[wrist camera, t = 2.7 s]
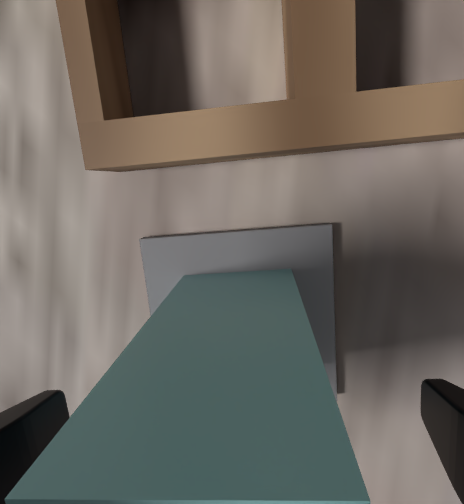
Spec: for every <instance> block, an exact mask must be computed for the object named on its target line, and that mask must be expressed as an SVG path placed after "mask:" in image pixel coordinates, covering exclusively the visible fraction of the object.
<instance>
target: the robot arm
mask: <svg viewBox="0 0 464 504" xmlns="http://www.w3.org/2000/svg"><path fill="white" fill-rule="evenodd" d="M421 416H422V419H423V422H424V424H425V427H426V429H427V431H428V433H429V435H430V438H431V440H432V442H433V444H434V446H435V449H436V451H437V453H438V455H439V457H440V460H441V462H442V464H443V466H444V468H445V471H446V473H447V475H448V477H449V479H450V481H451V483H452V486H453V488H454V490H455V491H456V493H457V495H458V497H459V499H460V501H461V502H462V504H464V389H462V388H460V387H458V386H456V385H454V384H452V383H450V382H448V381H446V380H443V379H425V380H423V381H422V385H421ZM68 419H69V412H68V408H67V403H66V399H65V395H64V393H63V391H61V390H47V391H44V392H42V393H40V394H38V395H36V396H33V397H31V398H29V399H27V400H25V401H23V402H21V403H19V404H17V405H15V406H13V407H11V408H9V409H7V410H5V411H3V412H1V413H0V504H6V503H5V498H6V497H7V495H8V494H9V493H10V492H11V490H12V489H13V488H14V487H15V485H16V484H17V483H18V482H19V480H20V479H21V478H22V477H23V475H24V474H25V473H26V472H27V470H28V469H29V468H30V467H31V465H32V464H33V463H34V462H35V460H36V459H37V458H38V457H39V455H40V454H41V453H42V452H43V450H44V449H45V448H46V447H47V445H48V444H49V443H50V442H51V440H52V439H53V438H54V437H55V435H56V434H57V433H58V432H59V430H60V429H61V428H62V427H63V425H64V424H65V423H66V422H67V420H68Z"/></svg>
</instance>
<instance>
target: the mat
mask: <svg viewBox="0 0 464 504" xmlns="http://www.w3.org/2000/svg"><path fill="white" fill-rule="evenodd" d="M139 241H140V247H141V254H142V261H143V268H144V274H145V281H146V288H147V294H148V301H149V308H150V315H151V316H152V314H153V313H154V312H155V311H156V309H157V308H158V307H159V306H160V304H161V303H162V302H163V301H164V299H165V298H166V297H167V296H168V294H169V293H170V292H171V291H172V289H173V288H174V287H175V286H176V284H177V283H178V282H179V281H180V279H181V278H182V277H183V276H184V275H200V274H215V273H231V272H246V271H262V270H278V269H291V270H292V273H293V276H294V279H295V282H296V285H297V287H298V290H299V293H300V296H301V299H302V302H303V305H304V308H305V311H306V314H307V317H308V320H309V323H310V326H311V329H312V332H313V334H314V337H315V340H316V343H317V346H318V349H319V352H320V355H321V358H322V361H323V364H324V367H325V370H326V373H327V376H328V378H329V381H330V384H331V387H332V390H333V393H334V396H335V399H336V401H337V382H336V346H335V311H334V275H333V239H332V224H330V223H324V224H311V225H298V226H285V227H272V228H259V229H246V230H233V231H220V232H207V233H194V234H181V235H168V236H155V237H143V238H141V239H139Z"/></svg>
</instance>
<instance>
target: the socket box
mask: <svg viewBox="0 0 464 504" xmlns="http://www.w3.org/2000/svg"><path fill="white" fill-rule="evenodd" d="M56 4H57V10H58V16H59V21H60V27H61V33H62V39H63V44H64V50H65V56H66V61H67V67H68V73H69V79H70V84H71V90H72V96H73V101H74V107H75V113H76V119H77V124H78V130H79V136H80V141H81V147H82V153H83V159H84V164H85V170H95V171H114V172H123V171H134V170H144V169H154V168H164V167H174V166H185V165H195V164H205V163H215V162H225V161H236V160H246V159H256V158H266V157H276V156H287V155H297V154H307V153H317V152H327V151H338V150H348V149H358V148H368V147H378V146H389V145H399V144H409V143H419V142H429V141H439V140H450V139H460V138H464V79H463V80H454V81H445V82H437V83H428V84H419V85H410V86H402V87H393V88H384V89H376V90H367V91H358V92H356V29H355V0H282V15H283V34H284V54H285V73H286V92H287V100H280V101H271V102H262V103H253V104H245V105H236V106H227V107H219V108H210V109H201V110H192V111H184V112H175V113H166V114H158V115H149V116H140V117H134V116H133V109H132V102H131V95H130V88H129V81H128V74H127V67H126V60H125V53H124V46H123V39H122V32H121V25H120V18H119V11H118V3H117V0H56Z"/></svg>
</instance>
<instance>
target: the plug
mask: <svg viewBox="0 0 464 504" xmlns="http://www.w3.org/2000/svg"><path fill="white" fill-rule="evenodd" d="M5 503H6V504H370V499H369V496H368V493H367V490H366V487H365V484H364V481H363V478H362V475H361V472H360V469H359V467H358V464H357V461H356V458H355V455H354V452H353V449H352V446H351V443H350V440H349V437H348V434H347V431H346V428H345V425H344V422H343V420H342V417H341V414H340V411H339V408H338V405H337V402H336V399H335V396H334V393H333V390H332V387H331V384H330V381H329V378H328V376H327V373H326V370H325V367H324V364H323V361H322V358H321V355H320V352H319V349H318V346H317V343H316V340H315V337H314V334H313V332H312V329H311V326H310V323H309V320H308V317H307V314H306V311H305V308H304V305H303V302H302V299H301V296H300V293H299V290H298V287H297V285H296V282H295V279H294V276H293V273H292V270H291V269H278V270H262V271H246V272H231V273H215V274H200V275H184V276H183V277H182V278H181V279H180V281H179V282H178V283H177V284H176V286H175V287H174V288H173V289H172V291H171V292H170V293H169V294H168V296H167V297H166V298H165V299H164V301H163V302H162V303H161V304H160V306H159V307H158V308H157V309H156V311H155V312H154V313H153V314H152V316H151V317H150V318H149V319H148V321H147V322H146V323H145V324H144V326H143V327H142V328H141V329H140V331H139V332H138V333H137V334H136V336H135V337H134V338H133V339H132V341H131V342H130V343H129V344H128V346H127V347H126V348H125V349H124V351H123V352H122V353H121V354H120V356H119V357H118V358H117V359H116V361H115V362H114V363H113V364H112V366H111V367H110V368H109V369H108V371H107V372H106V373H105V374H104V376H103V377H102V378H101V379H100V381H99V382H98V383H97V384H96V386H95V387H94V388H93V389H92V391H91V392H90V393H89V394H88V396H87V397H86V398H85V399H84V400H83V402H82V403H81V404H80V405H79V407H78V408H77V409H76V410H75V412H74V413H73V414H72V415H71V417H70V418H69V419H68V420H67V422H66V423H65V424H64V425H63V427H62V428H61V429H60V430H59V432H58V433H57V434H56V435H55V437H54V438H53V439H52V440H51V442H50V443H49V444H48V445H47V447H46V448H45V449H44V450H43V452H42V453H41V454H40V455H39V457H38V458H37V459H36V460H35V462H34V463H33V464H32V465H31V467H30V468H29V469H28V470H27V472H26V473H25V474H24V475H23V477H22V478H21V479H20V480H19V482H18V483H17V484H16V485H15V487H14V488H13V489H12V490H11V492H10V493H9V494H8V495H7V497H6V498H5Z"/></svg>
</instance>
